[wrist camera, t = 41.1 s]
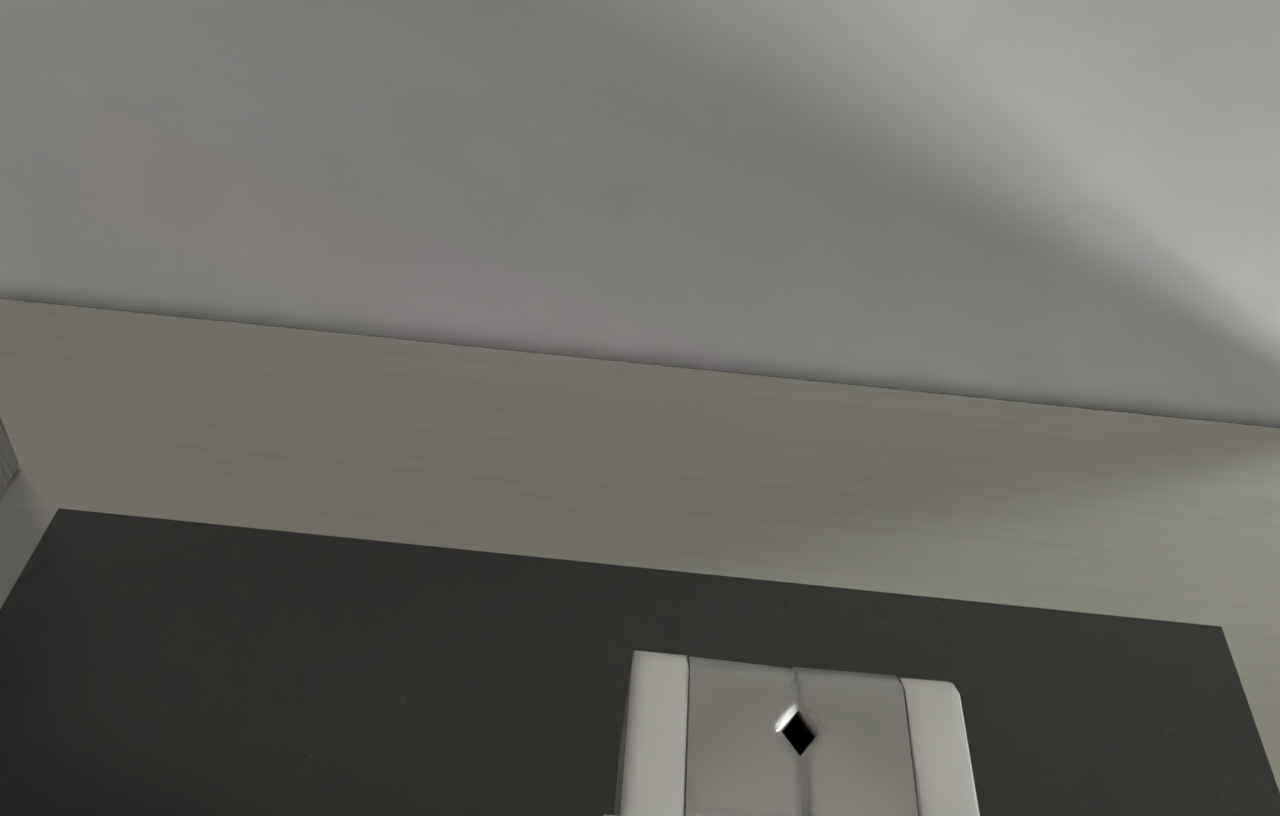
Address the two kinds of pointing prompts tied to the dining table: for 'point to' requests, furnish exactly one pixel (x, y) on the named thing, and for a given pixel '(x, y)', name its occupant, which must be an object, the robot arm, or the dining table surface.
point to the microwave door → (591, 573)
